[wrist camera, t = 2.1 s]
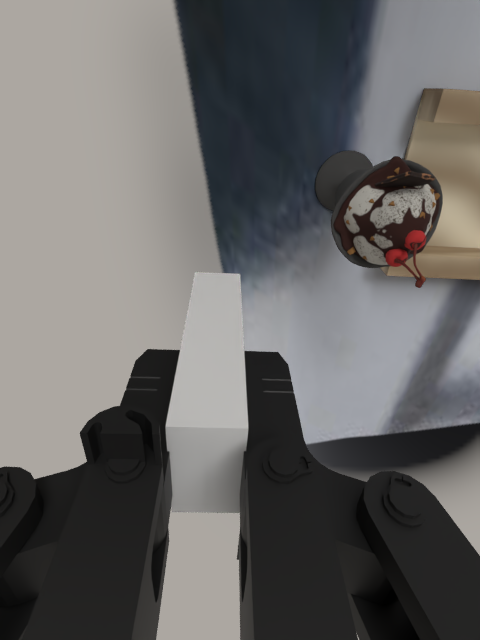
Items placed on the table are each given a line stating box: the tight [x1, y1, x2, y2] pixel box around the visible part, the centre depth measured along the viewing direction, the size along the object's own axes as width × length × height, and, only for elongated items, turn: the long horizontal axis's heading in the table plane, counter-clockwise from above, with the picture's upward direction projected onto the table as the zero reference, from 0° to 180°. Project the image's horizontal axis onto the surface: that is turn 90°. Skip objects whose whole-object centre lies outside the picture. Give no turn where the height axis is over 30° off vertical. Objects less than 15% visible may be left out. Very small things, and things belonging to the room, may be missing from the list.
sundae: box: [315, 151, 443, 288], centre depth 24 cm, size 7×7×15 cm
